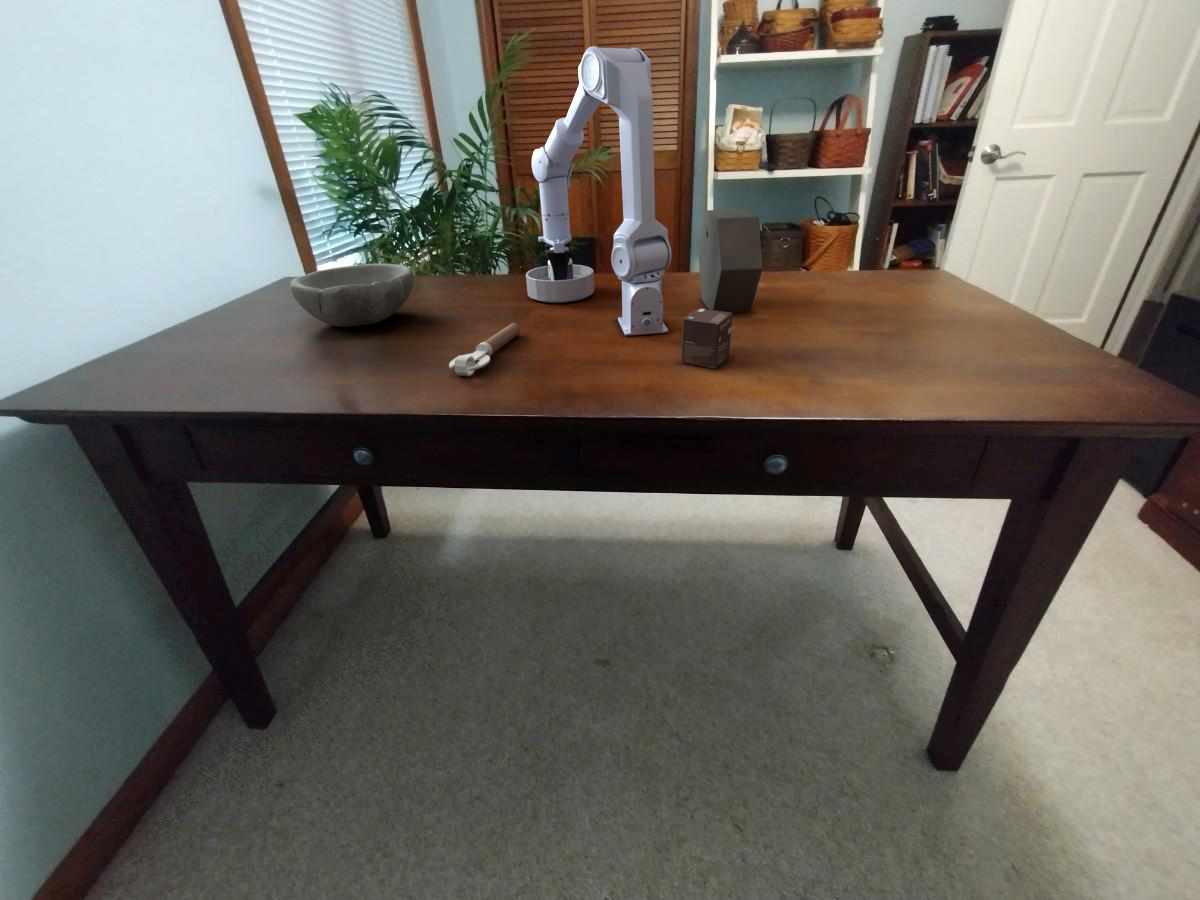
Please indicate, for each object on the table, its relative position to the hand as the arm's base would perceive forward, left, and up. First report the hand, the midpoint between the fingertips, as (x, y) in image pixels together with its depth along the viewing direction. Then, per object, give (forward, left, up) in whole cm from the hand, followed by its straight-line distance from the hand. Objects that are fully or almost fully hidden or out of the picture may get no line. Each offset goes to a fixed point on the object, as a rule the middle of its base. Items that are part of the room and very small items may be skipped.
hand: (560, 280), depth 121 cm
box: (-43, -21, -4) cm, 48 cm away
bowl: (-9, +41, -4) cm, 42 cm away
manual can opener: (-33, +14, -4) cm, 36 cm away
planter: (-15, -33, -4) cm, 36 cm away
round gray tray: (+1, 0, -3) cm, 4 cm away
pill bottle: (0, 0, -3) cm, 3 cm away
